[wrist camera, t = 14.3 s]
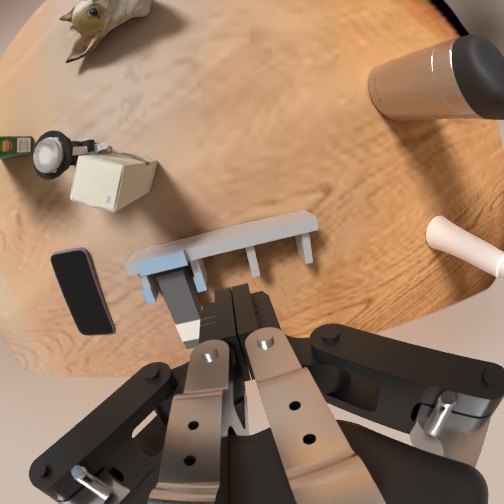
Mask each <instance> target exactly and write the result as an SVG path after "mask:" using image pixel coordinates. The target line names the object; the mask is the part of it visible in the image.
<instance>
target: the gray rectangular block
mask: <svg viewBox="0 0 504 504" xmlns="http://www.w3.org/2000/svg"><path fill="white" fill-rule="evenodd" d="M156 278H157V280H158V283H159V285H160V288H161V290H162V293H163V296H164V298H165V300H166V303H167V305H168V308H169V310H170V313H171V315H172V317H173V320H174V322H175V326H176V328H177V330H178V332H179V335H180V337H181V339H182V341H183V342H184V344H185V347H186V349H189V348H194V347H196V346H198V345H199V330H200V314H201V310H202V309H203V306H202V304H201V302H200V299H199V296H198V293H197V290H196V287H195V285H194V282H193V279H192V276H191V273H190V270H189V267H188V265H187V266H182V267H178V268H174V269H170V270H166V271H162V272H158V274H157V276H156Z"/></svg>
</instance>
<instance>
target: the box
mask: <svg viewBox="0 0 504 504" xmlns="http://www.w3.org/2000/svg"><path fill="white" fill-rule="evenodd" d="M156 166H157V161H156V160H153V159H149V158H146V157H142V156H138V155H133V154H129V153H109V154H97V155H83V156H79V157H78V160H77V164H76V168H75V173H74V178H73V183H72V188H71V195H70V199H71V200H72V201H74V202H77V203H80V204H84V205H87V206H90V207H94V208H98V209H101V210H105V211H109V212H113V213H115V212H117V211H118V210H120V209H121V208H123V207H125V206H126V205H128V204H130V203H131V202H133V201H135V200H137V199H138V198H140V197H142V196H143V195H145V194H147V193H149V192H150V190H151V186H152V182H153V178H154V174H155V170H156Z"/></svg>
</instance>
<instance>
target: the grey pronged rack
mask: <svg viewBox="0 0 504 504" xmlns="http://www.w3.org/2000/svg"><path fill="white" fill-rule="evenodd" d="M316 230H319V228H318V221H317V218H316V217H315V216H313V215H312V214H311V213H309V212H308V211H306V210H305V209H304V210H300V211H295V212H291V213H286V214H282V215H278V216H273V217H269V218H265V219H260V220H256V221H252V222H248V223H243V224H239V225H235V226H231V227H227V228H223V229H219V230H215V231H210V232H206V233H202V234H199V235H195V236H191V237H187V238H183V239H179V240H175V241H171V242H167V243H164V244H160V245H156V246H152V247H149V248H145V249H141V250H137V251H134V252H133V254H132V255H131V256H130V258H129V259H128V260H127V262H126V263H125V265H124V267H125V270H126V272H127V275H128V276H131V275H135V274H138V275H139V278H140V280H141V283H142V285H143V289H142V292H143V294H144V297H145V299H146V301H147V304H148V303H153V302H156V298H157V296H158V293H159V290H160V285H159V283H158V280H157V278H156V276H157V275H156V273H158V272H162V271H166V270H170V269H174V268H178V267H182V266H187V265H188V261H190V264H191V267H192V270H193V273H194V277H193V279H194V282H195V285H196V288H197V291H198V292H202V291H206V290H207V273H206V270H205V266H204V263H203V260H202V258H204V257H208V256H212V255H216V254H220V253H225V252H229V251H233V250H237V249H241V248H245V250H246V254H247V258H248V263H249V267H250V270H251V274H252V277H257V276H260V272H259V267H258V263H257V258H256V254H255V249H254V245H258V244H262V243H266V242H270V241H274V240H278V239H282V238H287V237H291V236H295V241H296V247H297V253H298V255H299V256H300V257H301V259H302V260H303V261H304V263H305V264H308V263H312V262H313V258H312V251H311V243H310V236H309V232H312V231H316Z"/></svg>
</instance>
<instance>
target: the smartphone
mask: <svg viewBox="0 0 504 504" xmlns="http://www.w3.org/2000/svg"><path fill="white" fill-rule="evenodd" d="M51 263H52V266H53V269H54V272H55V275H56V277H57V280H58V283H59V285H60V288H61V291H62V293H63V296H64V298H65V301H66V303H67V305H68V308H69V310H70V312H71V315H72V317H73V319H74V321H75V323H76V325H77V328H78V330H79V331H80V333H82V334H83V335H102V334H112V333H113V332H114V329H115V328H114V325H113V323H112V320H111V318H110V315H109V312H108V310H107V307H106V304H105V301H104V299H103V296H102V293H101V290H100V287H99V284H98V281H97V278H96V275H95V272H94V269H93V266H92V263H91V260H90V256H89V253H88V251H87V250H86V249H84V248H76V249H71V250H66V251H61V252H56V253H54V254H53V255H52V256H51Z"/></svg>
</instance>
